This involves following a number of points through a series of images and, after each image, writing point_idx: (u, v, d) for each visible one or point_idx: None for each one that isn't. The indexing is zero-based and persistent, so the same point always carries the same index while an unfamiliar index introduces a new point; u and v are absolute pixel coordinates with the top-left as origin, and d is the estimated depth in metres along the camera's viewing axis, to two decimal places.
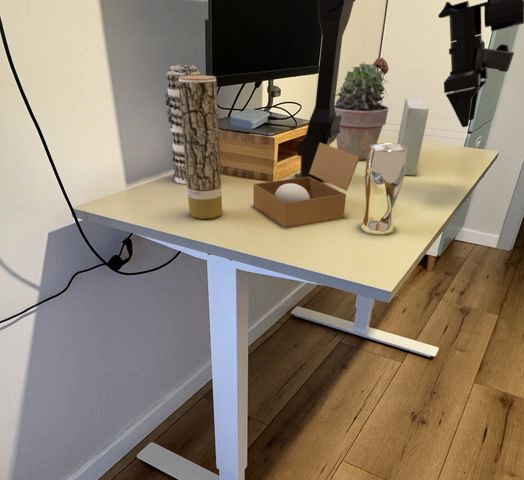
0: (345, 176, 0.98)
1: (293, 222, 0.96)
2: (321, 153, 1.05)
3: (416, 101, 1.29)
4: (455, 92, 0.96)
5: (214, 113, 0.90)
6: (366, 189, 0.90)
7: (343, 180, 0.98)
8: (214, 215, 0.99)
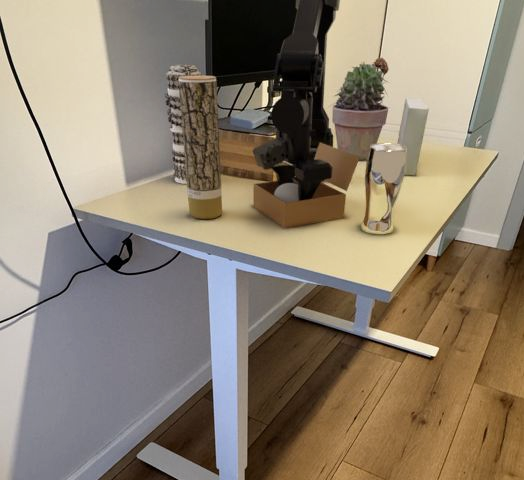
0: (345, 176, 0.98)
1: (293, 222, 0.96)
2: (321, 153, 1.05)
3: (416, 101, 1.29)
4: None
5: (214, 113, 0.90)
6: (366, 189, 0.90)
7: (343, 180, 0.98)
8: (214, 215, 0.99)
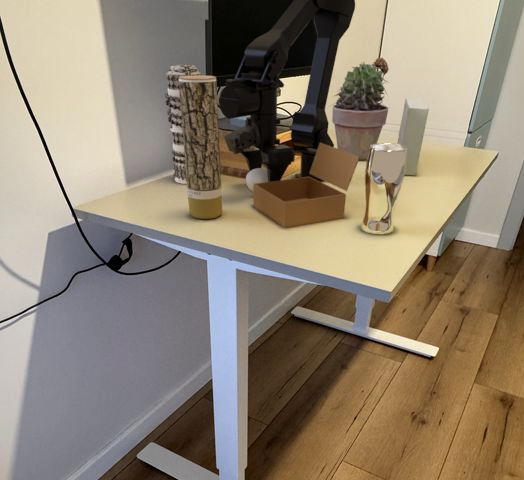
0: (345, 176, 0.98)
1: (293, 222, 0.96)
2: (321, 153, 1.05)
3: (416, 101, 1.29)
4: None
5: (214, 113, 0.90)
6: (366, 189, 0.90)
7: (343, 180, 0.98)
8: (214, 215, 0.99)
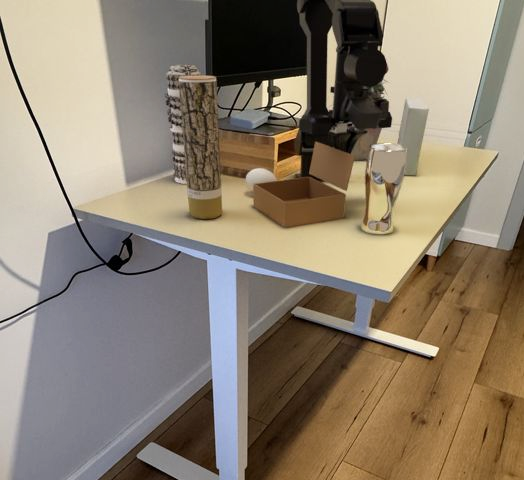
0: (343, 176, 0.98)
1: (293, 222, 0.96)
2: (318, 152, 1.04)
3: (416, 101, 1.29)
4: None
5: (214, 113, 0.90)
6: (366, 189, 0.90)
7: (342, 180, 0.98)
8: (214, 215, 0.99)
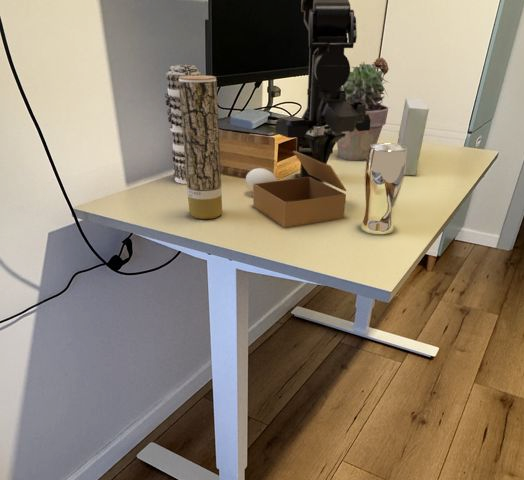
0: (335, 180, 0.97)
1: (293, 222, 0.96)
2: (302, 160, 1.04)
3: (416, 101, 1.29)
4: None
5: (214, 113, 0.90)
6: (366, 189, 0.90)
7: (336, 183, 0.98)
8: (214, 215, 0.99)
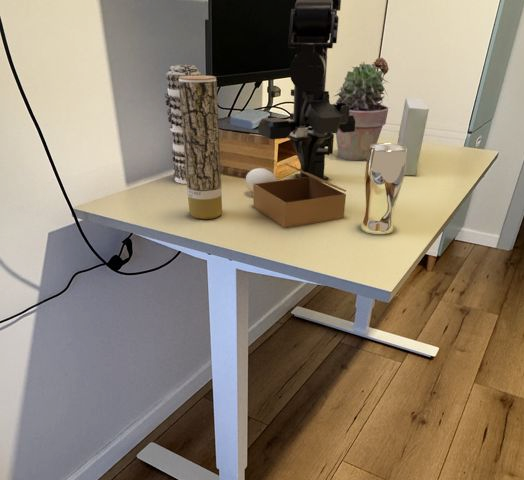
0: (331, 185, 0.97)
1: (293, 222, 0.96)
2: None
3: (416, 101, 1.29)
4: (288, 135, 0.95)
5: (214, 113, 0.90)
6: (366, 189, 0.90)
7: None
8: (214, 215, 0.99)
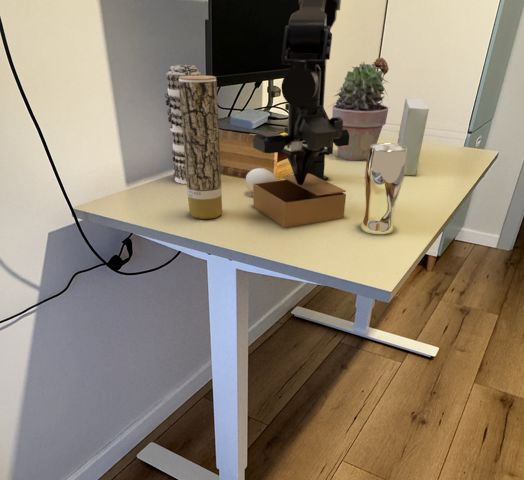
0: None
1: (293, 222, 0.96)
2: None
3: (416, 101, 1.29)
4: None
5: (214, 113, 0.90)
6: (366, 189, 0.90)
7: None
8: (214, 215, 0.99)
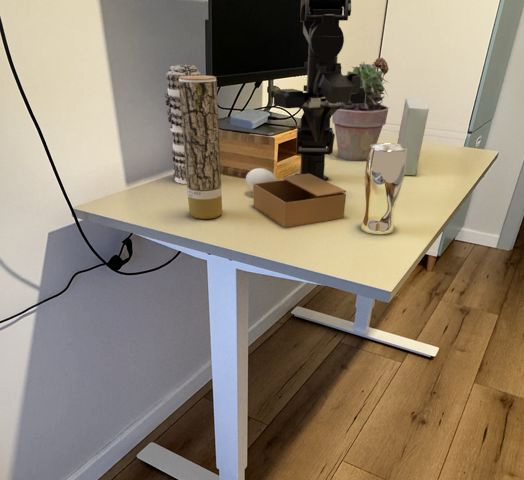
0: None
1: (293, 222, 0.96)
2: None
3: (416, 101, 1.29)
4: (302, 105, 1.00)
5: (214, 113, 0.90)
6: (366, 189, 0.90)
7: None
8: (214, 215, 0.99)
